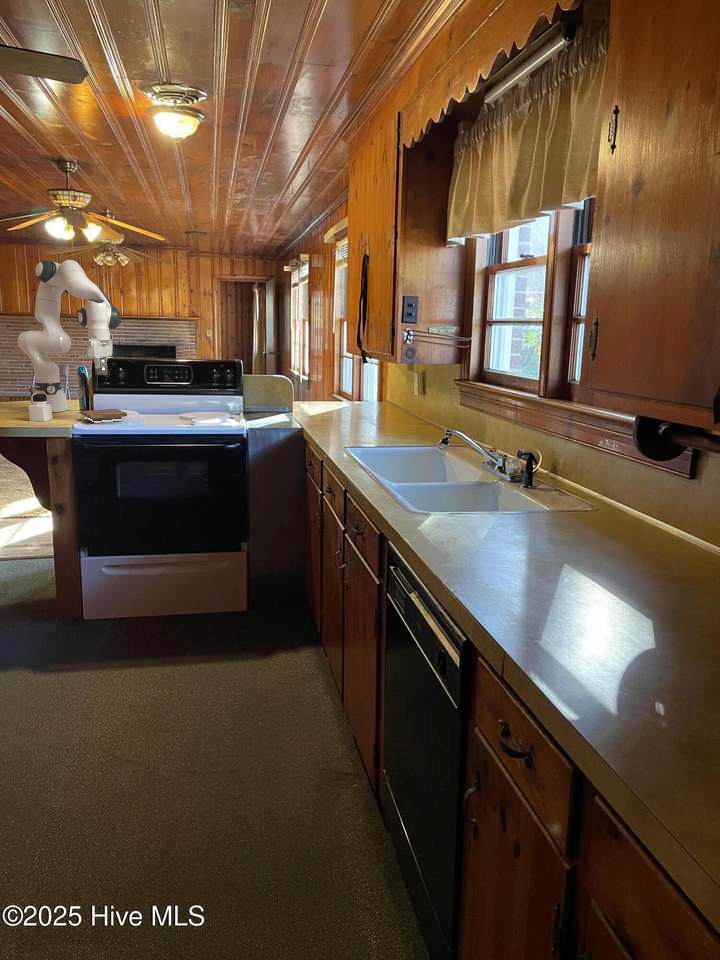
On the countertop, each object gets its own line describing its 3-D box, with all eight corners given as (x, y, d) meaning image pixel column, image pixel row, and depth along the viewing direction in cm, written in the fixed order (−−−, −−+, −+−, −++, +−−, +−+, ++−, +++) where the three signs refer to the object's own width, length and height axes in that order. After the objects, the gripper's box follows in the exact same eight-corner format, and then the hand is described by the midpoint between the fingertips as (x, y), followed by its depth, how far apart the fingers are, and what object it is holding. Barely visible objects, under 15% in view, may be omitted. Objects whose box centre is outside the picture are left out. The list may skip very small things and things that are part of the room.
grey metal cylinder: (95, 374, 318) (94, 358, 317) (107, 374, 320) (106, 358, 319) (95, 375, 313) (94, 359, 312) (108, 375, 315) (107, 359, 314)
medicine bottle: (52, 419, 323) (50, 393, 320) (44, 421, 316) (42, 395, 314) (38, 418, 324) (35, 392, 321) (29, 421, 317) (27, 394, 314)
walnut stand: (81, 419, 324) (81, 411, 323) (117, 417, 332) (116, 408, 332) (91, 424, 311) (90, 415, 310) (127, 421, 320) (127, 413, 319)
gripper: (96, 337, 303) (99, 369, 306) (114, 335, 323) (116, 366, 326) (82, 336, 303) (84, 369, 306) (100, 335, 323) (102, 365, 326)
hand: (101, 367), depth 316 cm, fingers closed on grey metal cylinder, 5 cm apart
